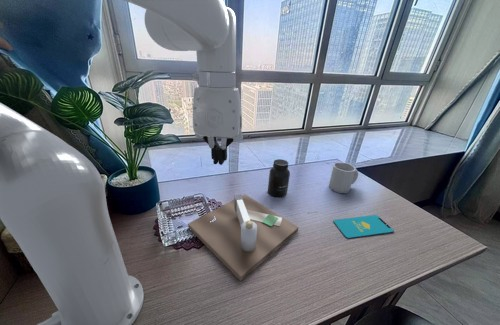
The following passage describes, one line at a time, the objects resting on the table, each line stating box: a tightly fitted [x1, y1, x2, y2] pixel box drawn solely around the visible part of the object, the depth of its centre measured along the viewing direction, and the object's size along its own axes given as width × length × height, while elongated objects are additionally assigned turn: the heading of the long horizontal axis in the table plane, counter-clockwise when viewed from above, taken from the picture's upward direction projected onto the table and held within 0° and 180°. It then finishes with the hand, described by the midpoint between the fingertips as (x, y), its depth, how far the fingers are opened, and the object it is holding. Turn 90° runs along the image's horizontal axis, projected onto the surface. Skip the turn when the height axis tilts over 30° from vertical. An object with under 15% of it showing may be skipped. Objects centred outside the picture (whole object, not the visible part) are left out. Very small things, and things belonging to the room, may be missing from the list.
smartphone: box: [332, 214, 395, 240], centre depth 60 cm, size 7×1×15 cm
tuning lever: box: [233, 194, 257, 252], centre depth 53 cm, size 14×4×7 cm, turn 15°
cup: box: [328, 161, 359, 194], centre depth 77 cm, size 7×10×9 cm
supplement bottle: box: [267, 159, 291, 199], centre depth 71 cm, size 7×7×12 cm
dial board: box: [187, 193, 299, 282], centre depth 57 cm, size 21×21×2 cm
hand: (219, 161), depth 51 cm, fingers closed
